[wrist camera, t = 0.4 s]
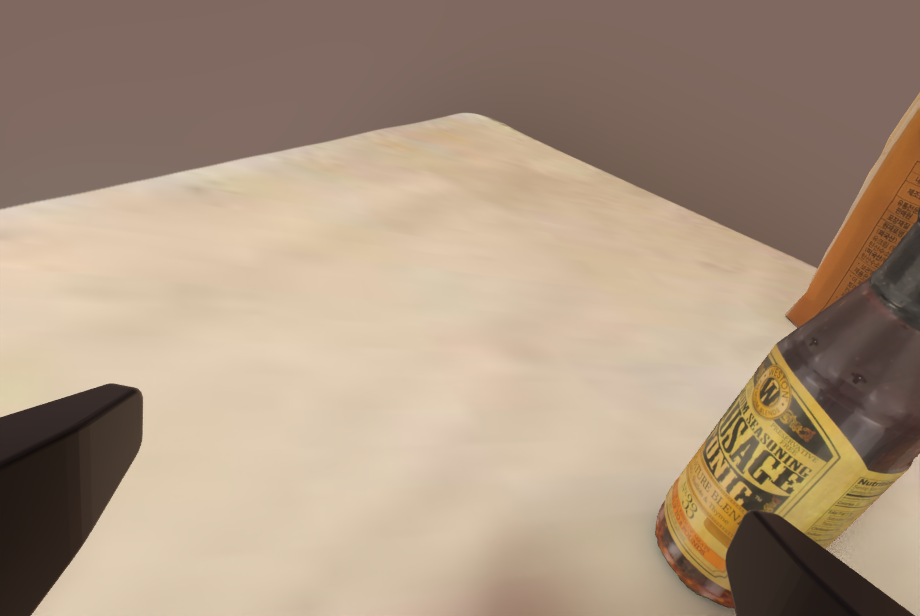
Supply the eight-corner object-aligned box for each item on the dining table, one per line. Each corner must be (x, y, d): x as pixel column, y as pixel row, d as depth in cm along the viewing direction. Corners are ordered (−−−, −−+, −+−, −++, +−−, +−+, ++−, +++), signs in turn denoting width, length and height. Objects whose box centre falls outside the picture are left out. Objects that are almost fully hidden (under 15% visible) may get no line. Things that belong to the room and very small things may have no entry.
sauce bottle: (633, 496, 32) (858, 135, 22) (739, 513, 33) (1004, 176, 23) (672, 617, 27) (997, 214, 16) (797, 633, 28) (1181, 263, 17)
